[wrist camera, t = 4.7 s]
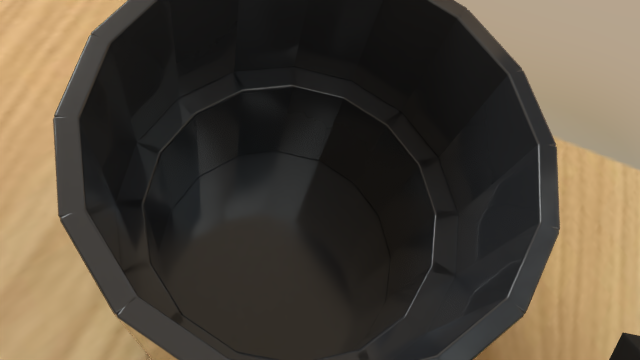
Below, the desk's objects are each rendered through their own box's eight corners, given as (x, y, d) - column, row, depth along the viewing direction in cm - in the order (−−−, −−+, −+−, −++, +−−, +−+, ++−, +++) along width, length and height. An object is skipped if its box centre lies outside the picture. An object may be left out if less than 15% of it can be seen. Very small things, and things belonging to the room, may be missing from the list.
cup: (424, 165, 24) (552, 6, 15) (401, 441, 19) (570, 451, 10) (173, 107, 23) (148, -101, 14) (81, 383, 18) (-46, 337, 9)
